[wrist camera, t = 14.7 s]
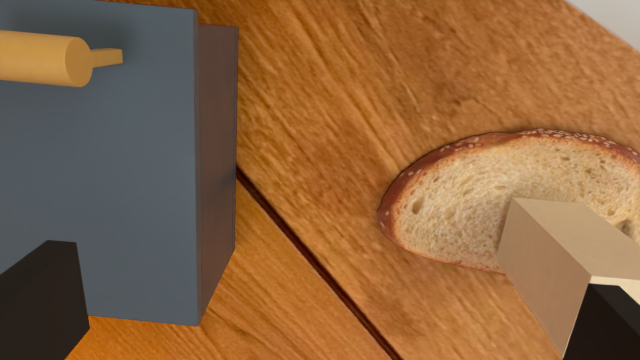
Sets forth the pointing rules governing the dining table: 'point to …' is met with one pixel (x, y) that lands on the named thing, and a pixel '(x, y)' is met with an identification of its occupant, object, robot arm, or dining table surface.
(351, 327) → the dining table surface
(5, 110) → the chest lid
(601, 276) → the block
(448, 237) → the bread slice
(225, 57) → the chest
